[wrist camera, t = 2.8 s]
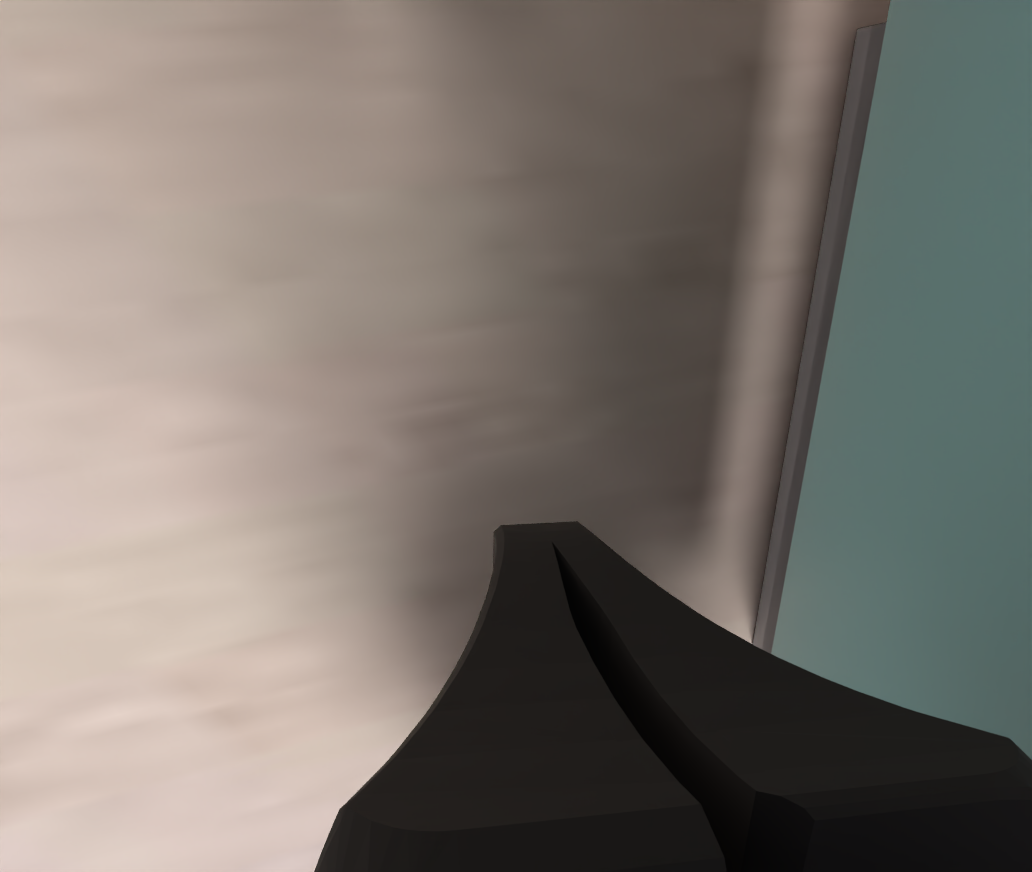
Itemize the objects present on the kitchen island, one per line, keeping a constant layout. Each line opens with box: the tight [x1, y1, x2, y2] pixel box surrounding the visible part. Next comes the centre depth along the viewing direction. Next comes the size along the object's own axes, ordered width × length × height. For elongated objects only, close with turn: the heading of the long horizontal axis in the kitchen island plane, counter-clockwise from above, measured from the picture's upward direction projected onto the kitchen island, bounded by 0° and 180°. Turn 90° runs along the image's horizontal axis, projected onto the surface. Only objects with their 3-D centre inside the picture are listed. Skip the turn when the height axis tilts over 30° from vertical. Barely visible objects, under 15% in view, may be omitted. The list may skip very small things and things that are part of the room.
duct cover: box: [771, 0, 1032, 760], centre depth 12 cm, size 18×11×1 cm
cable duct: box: [753, 22, 886, 654], centre depth 20 cm, size 18×10×4 cm, turn 179°
